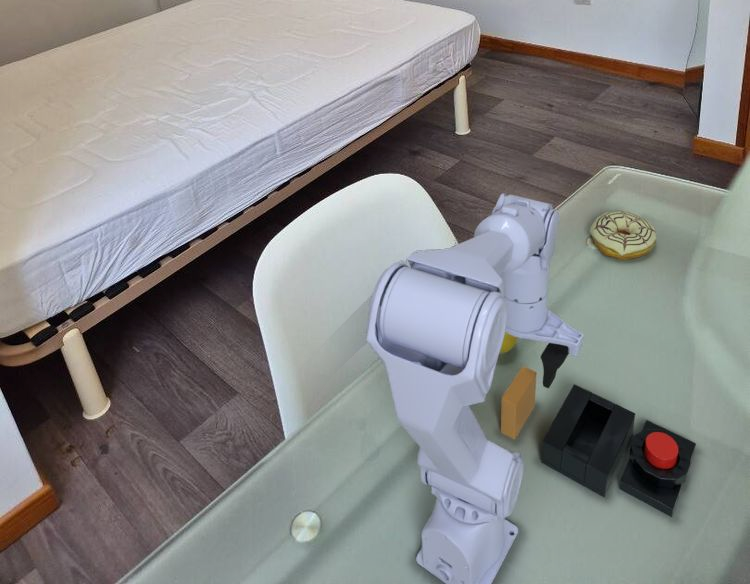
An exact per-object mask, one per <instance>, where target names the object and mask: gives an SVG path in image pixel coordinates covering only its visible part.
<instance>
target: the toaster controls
mask: <svg viewBox="0 0 750 584" xmlns="http://www.w3.org/2000/svg"><path fill="white" fill-rule="evenodd" d="M653 432H661V433H665V434H667V435H669V436H670V437H671V438H672V439H674V441H675V442H676V444H677V446H678V456H677V461H676V464H675V465H674V466H673V467H672V468H669V469H661V468H657V467H655V466H654V465H652V464H651V463H650V462H649V461H648V460H647V458H646V456H645V453H644V448H645V442H646V438H647V436H648V435H649V434H651V433H653ZM696 447H697V443H696V442H695V441H693V440H690V439H688V438H686V437H684V436H682V435H680V434H677V433H675V432H673V431H671V430H669V429H667V428H666V427H663V426H661V425H658V424H656V423H654V422H652V421H650V420H648V419H646V420H645V421H644V424H643V427H642V430H641V431H639V432H637V433H636V434H635V435H634V436H633V439H632V441H631V443H630V448H629V460H628V462H627V464H626V467H625V469H624V471H623V474H622V476H621V478H620V481H619V487H618V488H619V490H621V491H622V492H623V493H626V494H628V495H630V496H632V497H633V498H635V499H637V500H639V501H641V502H643V503H644V504H646V505H648V506H650V507H652V508H654V509H655V510H658V511H659V512H660V513H663V514H665V515H666V516H668V517H670V518H672V517H673V515H674V512H675V509H676V506H677V503H678V501H679V497H680V494H681V491H682V488H683V486H684V483H686V481H687V479H688V476H689V473H690V469H691V465H692V460H693V457H694V453H695V451H696Z"/></svg>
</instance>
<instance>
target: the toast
mask: <svg viewBox="0 0 750 584" xmlns="http://www.w3.org/2000/svg"><path fill="white" fill-rule="evenodd" d="M537 373H538V372H536V371H534V370H532V369H530V368H528V367H526V366H525V365H521V367H520V369H519V371H518V372H517V374H516V375H515V376H514V378H513V379H512V381H511V383H510V384H509V386H508V387H507V389H506V390H505V392H504V393H503V395H502V397H501V409H500V411H501V412H500V414H501V415H500V433H501V434H503V435H505V436H507V437H509V438H510V439H512V440H514V441H516V439H517V437H518V435H519V434H520V433H521V430H522V429H523V427H524V425H525V424H526V422H527V420H528V419H529V417H530V415H531V414H532V413H533V410H534V409H535V406H536V390H537Z"/></svg>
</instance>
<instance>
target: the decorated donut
mask: <svg viewBox="0 0 750 584" xmlns="http://www.w3.org/2000/svg"><path fill="white" fill-rule="evenodd" d="M589 234H590V236H591V237H592V241H593V242H594V245H595V247H597V249H598V251H600V253H601V254H603V255H604V256H606V257H611V258H614V259H618V260H632V259H636V258H640V257H643V256H646V255H647V254H649V253H650V251H652V249H653V248H654V247H655V245H656V243H657V231H656V228H655V227H654V225H653V224H652V223H651V222H650V221H649V220H648V219H645V218H644V217H642V216H640V215H638V214H636V213H634V212H630V211H625V210H614V211H606V212H604V213H602V214H601V215H598V216H597V217H596V218H595V220H594V221H593V222H592V224H591V226H590V228H589Z"/></svg>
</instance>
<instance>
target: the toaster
mask: <svg viewBox="0 0 750 584" xmlns="http://www.w3.org/2000/svg"><path fill="white" fill-rule="evenodd" d="M635 418H636V413H635V412H634V411H632V410H630V409H627V408H625V407H623V406H621V405H619V404H618V403H615V402H612V401H610V400H608V399H606V398H604V397H602V396H600V395H598V394H595V393H593V392H592V391H589V390H588V389H585V388H583V387H582V386H579V385H577V384H575V383H573V385H572V387H571V388H570V390H569V392H568V394H567V396H566V397H565V399H564V401H563V403H562V404H561V407H560V409H559V410H558V412H557V414H556V415H555V418H554V419H553V421H552V423H551V425H550V426H549V428H548V430H547V432H546V433H545V435H544V437H543V439H542V440H541V453H540V454H541V455H540V463H541V464H543V465H545V466H547V467H548V468H550V469H552V470H554V471H555V472H558V473H559V474H560V475H562V476H564V477H567V478H568V479H570V480H572V481H574V482H575V483H577V484H579V485H581V486H582V487H584V488H586V489H588V490H589V491H592V492H593V493H595V494H597V495H599V496H601V497H602V498H606V496H607V494H608V491H609V489H610V486H611V485H612V482H613V480H614V478H615V475H616V473H617V470H618V469H619V466H620V464H621V461H622V459H623V457H624V454H625V452H626V451H627V448H628V446H629V443H630V441H631V438H632V436H633V432H634V427H635V426H634V425H635V420H636V419H635Z"/></svg>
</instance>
